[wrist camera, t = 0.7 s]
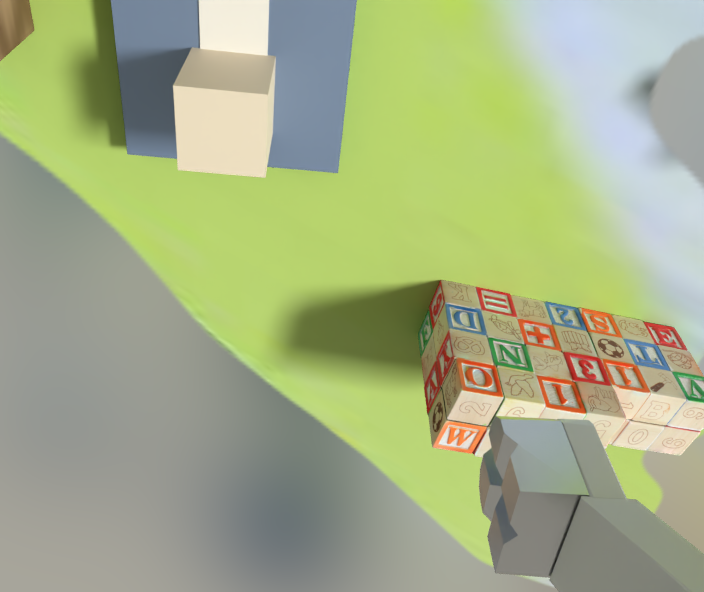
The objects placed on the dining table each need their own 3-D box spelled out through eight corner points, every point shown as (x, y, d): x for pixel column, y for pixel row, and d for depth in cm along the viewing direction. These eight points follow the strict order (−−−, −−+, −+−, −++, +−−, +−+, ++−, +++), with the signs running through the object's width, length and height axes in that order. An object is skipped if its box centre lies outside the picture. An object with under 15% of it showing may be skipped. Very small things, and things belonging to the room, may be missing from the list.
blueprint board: (94, -228, 33) (43, -225, 27) (375, -189, 34) (384, -179, 28) (132, 144, 45) (102, 200, 40) (337, 162, 47) (338, 220, 41)
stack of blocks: (676, 324, 57) (745, 438, 47) (639, 374, 61) (696, 490, 51) (438, 277, 53) (461, 391, 44) (414, 334, 57) (430, 450, 48)
